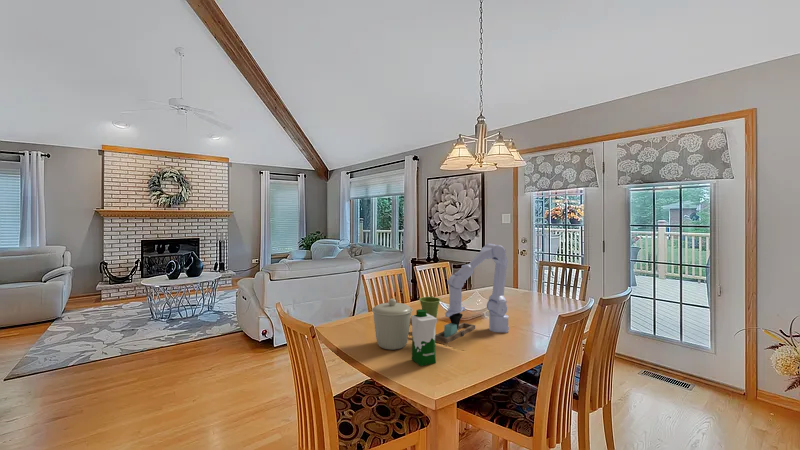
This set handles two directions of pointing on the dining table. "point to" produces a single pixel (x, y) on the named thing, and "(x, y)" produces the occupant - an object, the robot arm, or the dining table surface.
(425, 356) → the milk carton
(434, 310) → the plant pot
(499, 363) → the dining table surface
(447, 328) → the teal block
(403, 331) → the canister
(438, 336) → the wooden tray
